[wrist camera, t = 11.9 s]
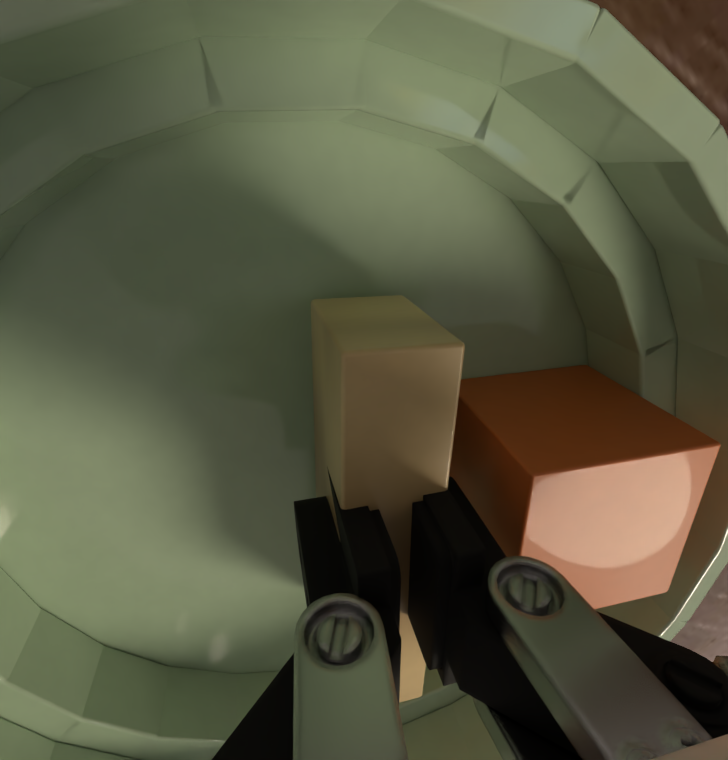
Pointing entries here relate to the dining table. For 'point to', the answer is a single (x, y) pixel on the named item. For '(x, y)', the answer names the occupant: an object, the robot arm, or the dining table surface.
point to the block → (581, 477)
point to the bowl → (304, 312)
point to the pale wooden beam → (384, 422)
